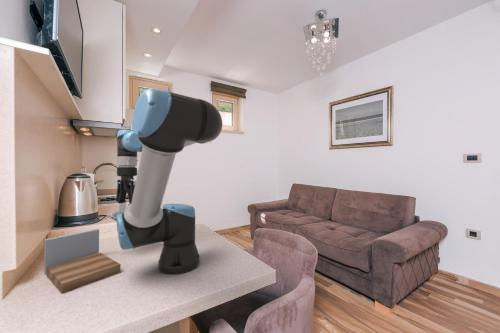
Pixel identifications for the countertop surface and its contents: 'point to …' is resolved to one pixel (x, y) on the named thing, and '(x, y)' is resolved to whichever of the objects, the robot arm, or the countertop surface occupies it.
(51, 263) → the backboard
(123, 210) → the packaged food
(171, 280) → the countertop surface
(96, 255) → the plinth
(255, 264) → the countertop surface
